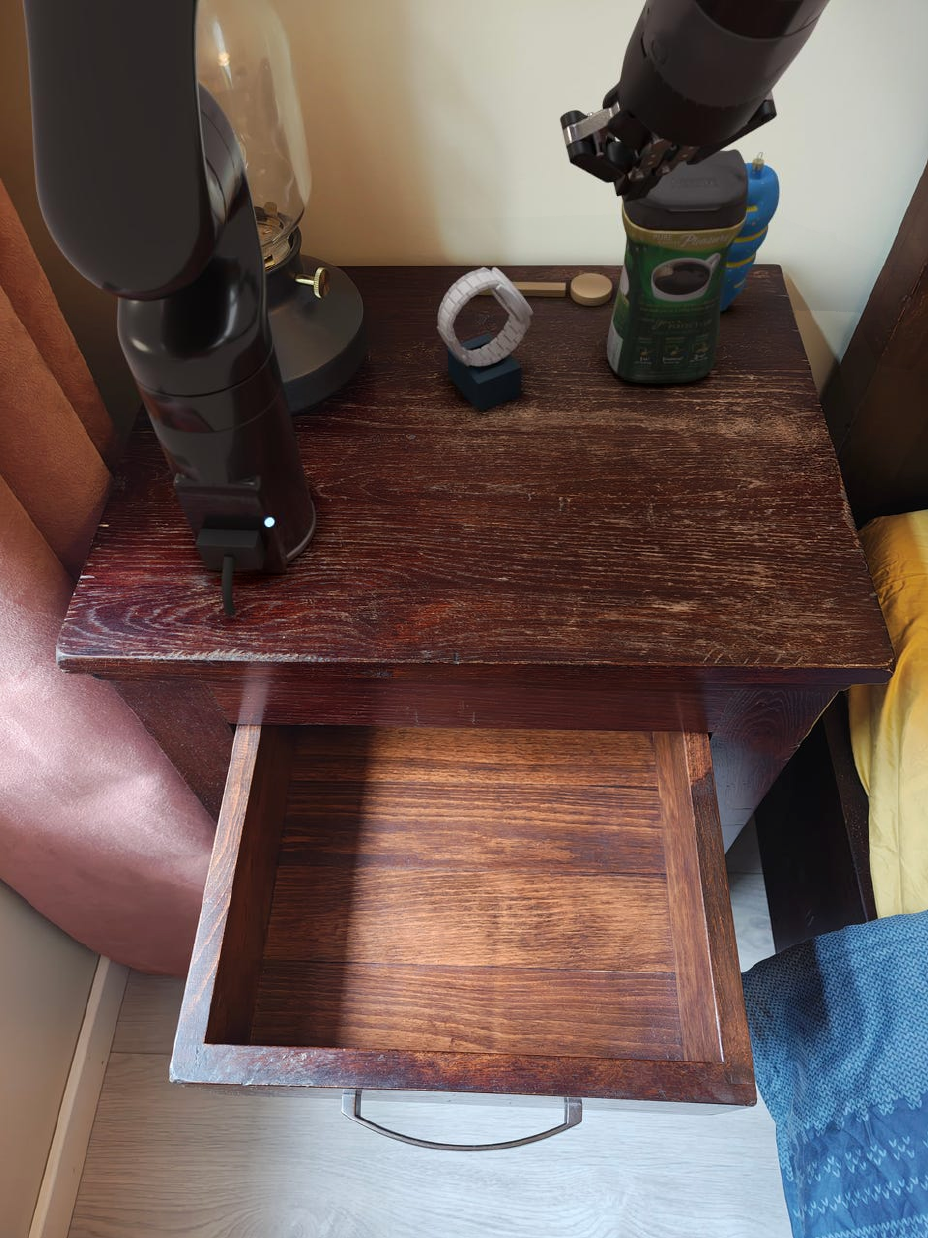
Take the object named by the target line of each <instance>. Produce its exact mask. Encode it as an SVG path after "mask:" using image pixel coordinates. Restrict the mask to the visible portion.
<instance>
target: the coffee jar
mask: <svg viewBox="0 0 928 1238" xmlns="http://www.w3.org/2000/svg"><path fill="white" fill-rule="evenodd" d="M745 163H746V162H745V159H744V157H743V155H742V153H741V152H740V151H739V149H736V148H733V149H730V150H720V151H718V152H717V153H715V154H713V155H711V156H710V157H708V158H706V159H705V160H703V161H701V162H700V163H698V164H695V165H687V164H686V161H684V162H679V164H678V165H677V166H676V168H675V169H674V170H673V171H672V172H670V173H669V174H667V175H663V177H662V178H661V180H660V182H659V183H658V185H657V186H655V187H654V188H653V189H651V190H650V192H649V193H648V195H647V196H646V198H643V199H638V200H633V201H629V202H623V200H622V199H621V200H622V201H621V219H622V225H623V228H624V232H625V236H626V238H625V239H626V241H625V248H624V249H625V250H624V258H623V265H622V270H621V274H620V275H621V276H620V280H619V284H618V289H617V293H616V297H615V301H614V306H613V310H612V315H611V318H610V322H609V323H610V324H609V329H608V335H607V343H606V346H607V347H606V355H607V360H608V363H609V365H610V368H611V370H612V371H613V372H614V373H615V375H617V376H618V377H620V378H621V379H623V380H624V381H627V382H631V383H639V384H673V383H674V384H675V383H686V382H694V381H697V380H700V379H703V378H704V377H706V376H707V375H708V374H709V373H710V372H711V371H712V369H713V367H714V365H715V362H716V357H717V351H718V350H717V349H718V342H719V331H720V320H721V319H720V318H721V311H720V309H721V299H722V290H723V282H724V275H725V270H726V264H727V260H728V256H729V252H730V249H731V246H732V244H733V242H734V240H735V239H736V237H737V236H738V234H739V233H740V231H741V229H742V227H743V225H744V223H745V219H746V215H747V197H748V172H747V167H746V164H745Z"/></svg>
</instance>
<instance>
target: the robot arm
mask: <svg viewBox="0 0 928 1238" xmlns="http://www.w3.org/2000/svg"><path fill="white" fill-rule="evenodd" d="M21 1H22V6H23V7H22V8H23V15H24V24H25V25H24V27H25V36H26V46H27V47H26V48H27V59H28V62H27V63H28V77H29V93H30V95H29V96H30V110H31V128H32V149H33V151H32V152H33V165H34V180H35V190H36V195H37V201H38V205H39V208H40V211H41V215H42V218H43V220H44V223H45V225H46V227H47V229H48V232H49V234H50V236H51V237H52V240H53V241H54V243H55V245H56V246H57V248H58V249H59V251H60V252H61V254H62V255H63V256H64V258H65V259H66V260H67V261H68V262H69V263H70V265H72V266H73V268H74V269H75V270H76V271H77V272H78V273H79V274H80V275H82V277H83V278H85V279H86V280H87V281H89V282H90V283H92V285H94V286H95V287H97V288H98V289H100V290H102V291H104V292H106V293H108V294H110V295H111V296H113V297H116V298H117V315H116V318H117V319H116V329H117V337H118V341H119V344H120V347H121V349H122V352H123V355H124V358H125V360H126V363H127V365H128V368H129V371H130V373H131V374H132V376H133V379H134V381H135V384H136V387H137V389H138V391H139V394H140V397H141V399H142V400H143V405H144V407H145V409H146V412H147V414H148V417H149V420H150V421H151V424H152V427H153V430H154V432H155V434H156V437H157V439H158V442H159V444H160V447H161V449H162V452H163V454H164V457H165V459H166V463H167V464H168V467H169V469H170V472H171V474H172V477H173V482H172V487H173V490H174V492H175V495H176V497H177V500H178V503H179V504H180V507H181V510H182V512H183V515H184V517H185V519H186V522H187V525H188V527H189V529H190V532H191V534H192V537H193V539H194V542H195V547H196V549H197V552H198V554H199V557H200V558H201V559H200V560H201V561H202V564H203V566H204V567H205V568H206V570H207V571H211V572H213V571H214V572H215V571H216V572H218V571H219V572H221V585H220V587H221V588H220V589H221V599H222V605H223V610H224V613H225V616H227V617H233V616H235V615H236V614H237V612H236V606H235V603H234V602H235V601H234V596H233V581H234V580H233V578H234V573H235V572H237V573H261V574H262V573H263V574H285V572H286V571H287V567H288V564H289V562H290V561H292V560H293V559H296V557H298V556H299V555H301V553H302V552H303V551H304V550H305V549H306V548H307V547H308V546H309V544H310V543H311V541H312V539H313V537H314V536H315V533H316V530H317V523H318V522H317V520H318V519H317V513H316V509H315V505H314V502H313V500H312V498H311V493H310V489H309V485H308V481H307V477H306V473H305V468H304V465H303V460H302V456H301V452H300V447H299V444H298V439H297V434H296V431H295V428H294V423H293V418H292V414H291V410H290V406H289V402H288V398H287V393H286V390H285V386H284V382H283V376H282V373H281V372H282V371H281V369H280V364H279V359H278V355H277V351H276V348H275V347H276V346H275V343H274V337H273V332H272V329H271V324H270V319H269V303H268V295H269V294H268V276H267V268H266V261H265V257H264V252H263V251H264V250H263V248H262V241H261V236H260V231H259V225H258V220H257V216H256V215H257V214H256V210H255V205H254V201H253V200H254V199H253V195H252V191H251V185H250V180H249V176H248V172H247V167H246V163H245V159H244V156H243V152H242V149H241V146H240V143H239V140H238V137H237V135H236V132H235V130H234V127H233V126H232V123H231V121H230V119H229V117H228V116H227V114H226V112H225V111H224V109H223V107H222V106H221V105H220V103H219V102H218V101H217V99H216V98H215V96H214V95H213V94H212V93H211V92H210V91H209V90H208V89H207V88H206V87H205V85H204V84H202V83H201V82H200V81H199V75H198V74H199V73H198V21H199V20H198V19H199V10H200V9H199V8H200V0H21ZM830 1H831V0H646V1H645V2H644V5H643V7H642V9H641V12H640V13H639V17H638V19H637V21H636V24H635V26H634V29H633V31H632V34H631V36H630V38H629V41H628V43H627V45H626V49H625V52H624V57H623V61H622V67H621V72H620V77H619V81H618V82H617V83H615V85H614V86H613V87H611V89H609V90H608V91H607V93H606V94H605V95H604V98H603V101H602V105H601V106H602V108H601V109H600V110H598V111H596V112H589V113H587V114H585V113H583V112H582V111H581V110H578V109H573V110H569V111H566V112H565V113H563V114H562V115H561V116H560V118H559V122H560V126H561V131H562V135H563V139H564V144H565V148H566V152H567V156H568V160H569V163H570V164H572V165H573V166H575V167H577V168H579V169H580V170H582V171H584V172H586V173H587V174H590V175H591V176H593V177H595V178H597V179H598V180H600V181H602V182H604V183H605V184H606V183H607V184H609V183H610V184H611V183H613V187H614V192H615V195H616V197H617V198H618V197H621V200H623V202H629V201H633V200H638V199H643V198H646V196H647V195H648V193H649V192H650V190H651V189H653V188H654V187H655V186H657V185H658V183H659V182H660V180H661V178H662V177H663V175H667V174H669V173H670V172H672V171H673V170H674V169H675V168H676V166H677V165H678V164H679V162H684V161H686V164H687V165H695V164H698V163H700V162H701V161H703V160H705V159H706V158H708V157H710V156H711V155H713V154H715V153H717V152H718V151H723V149H725V148H727V147H728V146H730V145H731V144H734V143H735V142H737V141H739V140H740V139H742V138H744V137H745V136H747V135H749V134H750V133H752V132H754V131H756V130H757V129H759V128H761V127H763V126H764V125H766V124H768V123H769V122H771V121H772V120H774V119H775V118H777V116H778V112H777V108H776V102H775V99H774V95H773V88H775V86H776V85H777V83H778V82H779V81H780V79H781V78H782V77H783V75H784V74H785V73H786V71H787V70H788V68H789V67H790V66H791V65H792V63H793V62H794V61H795V59H796V58H797V56H798V55H799V54H800V52H801V51H802V49H803V47H805V45H806V43H807V42H808V40H809V39H810V38H811V36H812V34H813V32H814V30H815V29H816V26H817V24H818V22H819V21H820V18H821V16H822V14H823V12H824V10H825V9H826V7H827V6H828V4H829V3H830Z"/></svg>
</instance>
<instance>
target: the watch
mask: <svg viewBox="0 0 928 1238" xmlns="http://www.w3.org/2000/svg"><path fill="white" fill-rule="evenodd" d="M512 282H513V281H511V279H509V278H508V277H507V276H506V275H505V273H503V272H502V271H501V270H499V269H498V268H497V267H496V266H494V267H492V269H491V270H490V269H488V268H487V267H484V266H483V267H481V268H479V269H476V270H472V271H470V272H468V273H466V274H465V275H463V276H461V277H460V278H459V279H457V280H456V282H454V283H453V284H452V285H451V287H450V288H449V289H448V291H447V292H446V293H445V295H444V297H443V298H442V301H441V302H440V306H439V308H438V313H437V324H438V325H437V326H436V328H437V331H438V333H439V335H440V337H441V339H442V341H443V342H444V343H445V344H446V346H447V347H448V348H447V367H448V368H447V369H448V378H449V379H450V380H451V382H452V383H453V384H454V385H455V387H457V388H458V390H459V391H460V392H461V393H462V394H463V395H464V396H465V398H466V399H467V401H468V402H470V404H471V405H472V406H473V407H474V409H475V410H476V411H477V412H478V413H481V412H482V411H483V412H484V411H486V410H488V409H491V408H493V407H496V406H498V405H500V404H503V403H506V402H508V401H511V400H513V399H516V398H519V397H521V396H522V375H523V374H522V371H523V370H522V369H523V367H522V365H521V364H520V363H519V362H518V361H517V360H516V359H515V358H514V357H513V356H512V355H511V352H513V351H514V350H515V349H516V348H517V347H518V345H519V343H520V342H521V341H522V340H523V338H524V336H525V333H526V332H527V330H528V329H529V328H530V326H531V318H530V317H531V316H532V315H533V314H534V312H533V309H532V308H531V306H530V304H529V303H528V300H526V298H525V296H522V294H521V293H520V292H519V291H518V289H517V288H516V287H515V286H514V285H513V284H512ZM486 289H489V290H490V292H491V293H492V294H493V295H492V296H493V297H494V298H495V299H496V301H497V302H498V303H499V304H500V306H501V307H502V308H503V309H504V310H505V311H506V312H507V313H508V315H509V316H508V320H507V321H506V323H505V325H504V326H503V329H502V330H501V331H500V332H499V333H498V335H497V336H496V337H494V335H493V334H491V332H488V333H485V334H483V335H479V336H477V337H474V338H472V339H469V340H466V341H464V342H460V341H459V339H458V338H457V337H456V336H457V335H456V333H455V328H454V323H455V320H456V318H457V315H458V314H459V313H460V311H461V309H462V308H463V306H465V305H466V304H467V303H468V302H469V301H470V300H471V298H474V297H475V296H477V295H476V294H478V293H479V291H480V292H481V291H483V290H486Z"/></svg>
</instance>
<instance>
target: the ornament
mask: <svg viewBox="0 0 928 1238" xmlns="http://www.w3.org/2000/svg"><path fill="white" fill-rule="evenodd" d="M760 154H761V156H760V157H759V155H760ZM762 157H763V152H762V151H760V152H759V153H758V154H757V157H756V158H755V157H754V158H753V160H752V162H745V164H746V167H747V172H748V197H747V215H746V219H745V223H744V225H743V227H742V229H741V231H740V233H739V234H738V236H737V237H736V239H735V240H734V242H733V244H732V246H731V249H730V252H729V256H728V260H727V264H726V270H725V275H724V282H723V290H722V299H721V309H720V312H723V311H726V309H727V308H728V307H729V305H730V304H732V302H733V301H734V300H735V299H736V298H737V297H738V296H739V294H740V293H741V292H742V290H743V288H744V287H745V284H746V279H747V278H746V277H747V276H748V274H749V272H750V271H751V269H752V268H753V265H754V263H755V262H756V258H757V251H758V250H759V249H760V247H761V246H762V244H763V243H764V241H765V239H766V238H767V235H768V232H769V224H770V223H771V221H772V219H773V218H774V216H775V214H776V212H777V209H778V206H779V202H780V194H781V193H780V192H781V191H780V181H779V176H778V173H776V171H775V170H774V168H772V167H771V166H768V165H767V164H765V159H763V158H762Z"/></svg>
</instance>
